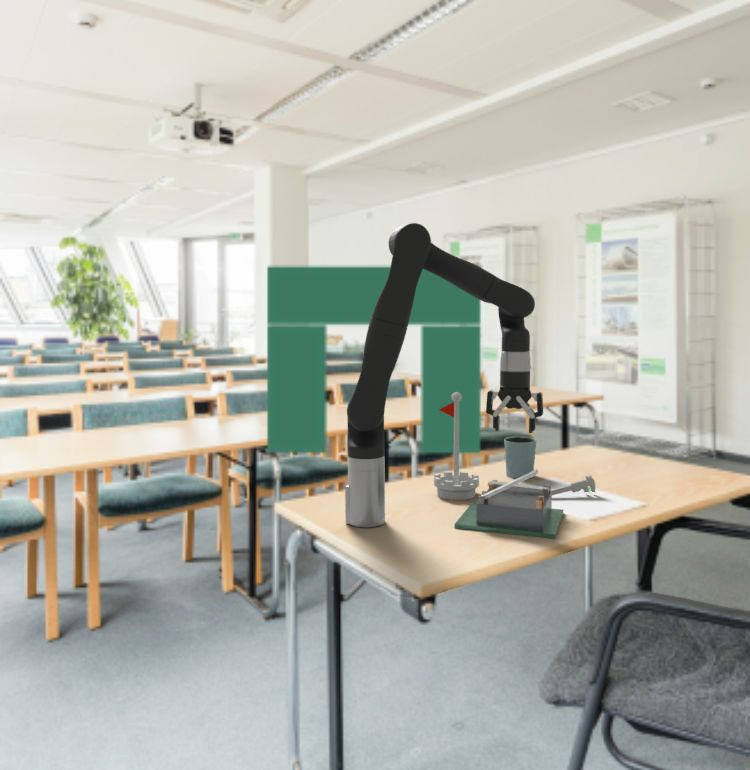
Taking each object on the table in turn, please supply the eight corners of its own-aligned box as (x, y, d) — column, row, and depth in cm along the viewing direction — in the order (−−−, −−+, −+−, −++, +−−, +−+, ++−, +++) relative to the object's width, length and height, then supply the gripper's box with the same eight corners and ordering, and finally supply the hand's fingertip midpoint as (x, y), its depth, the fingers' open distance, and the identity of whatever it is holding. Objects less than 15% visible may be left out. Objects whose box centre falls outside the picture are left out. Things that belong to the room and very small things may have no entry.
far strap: (549, 491, 176) (549, 486, 175) (548, 494, 173) (548, 489, 173) (489, 484, 181) (489, 479, 181) (487, 486, 178) (487, 482, 178)
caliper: (593, 495, 195) (593, 474, 195) (595, 496, 194) (595, 475, 194) (526, 499, 192) (527, 477, 191) (528, 500, 190) (528, 478, 190)
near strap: (481, 502, 167) (478, 497, 167) (483, 499, 170) (481, 494, 170) (537, 475, 161) (535, 470, 162) (539, 472, 164) (536, 468, 164)
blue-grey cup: (533, 472, 222) (534, 436, 221) (538, 480, 212) (538, 442, 211) (502, 472, 223) (502, 436, 222) (505, 479, 213) (505, 442, 212)
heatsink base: (454, 527, 166) (454, 496, 166) (473, 504, 186) (473, 477, 185) (555, 538, 158) (555, 506, 157) (563, 513, 177) (564, 484, 177)
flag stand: (477, 489, 203) (478, 389, 199) (480, 501, 190) (481, 394, 186) (433, 488, 204) (434, 389, 201) (433, 500, 191) (433, 394, 188)
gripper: (484, 369, 172) (483, 432, 173) (542, 371, 167) (540, 435, 168) (490, 367, 179) (489, 427, 180) (545, 368, 174) (543, 430, 176)
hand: (514, 431), depth 174 cm, fingers open, 8 cm apart
